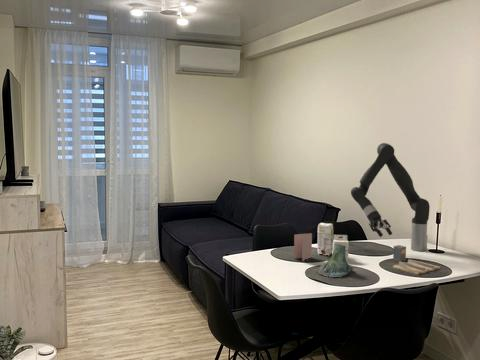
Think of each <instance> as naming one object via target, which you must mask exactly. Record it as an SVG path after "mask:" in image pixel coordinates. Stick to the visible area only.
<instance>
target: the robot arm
mask: <svg viewBox="0 0 480 360" xmlns="http://www.w3.org/2000/svg"><path fill="white" fill-rule="evenodd" d="M376 151H377V154H378V156H377V157H376V159H375V161H374V162H373V163H372V164H371V165H370V167H368V169H366V171H365V172H364V173H363V175H362V177H361V178H360V180H359V183H360V184H359V187H358V186H356V187H352V188H351V190H350V194H351V197H352V198H353V200H354V201H355V202H356V203H357V204H358V205H359V207H360V208H361V210H362V211H363V213H364V215H365V217H366V218H367V220H368V221H369V223H368V225H369V227H370V229H371V230H372V232H375V233H377V235H378V237H379V238H383V237H382V236H383V235H384V234H383V233H382V231H381V230H380V228H381V229H384V230H385V232H386V233H387V234H388V235H389V236H392V235H393V232H392V230H391V229H390V228H391V223H389V222H388V220H387V219H382V215H381V214H380V213H379V211H378V209H377V208H376V207H375V205H373V203H372V202H371V200H370V198H368V197H366V196H367V193H368V191H369V189H370V186H371V184H373V182H374V180H375V179H376V178H377V176H378V174H379V172H380V171H381V170H382V169H383V168H384V166H385V165H386V166H387V170H389V172H390V175H391V176H392V178H393V179H394V181H395V183H396V185H397V186H398V188H399V189H400V190H401V192H402V193H403V196H405V198H406V201H407V202H408V204H409V206H410V208H411V210H412V211H413V212H414V217H412V218H411V232H410V233H411V234H410V235H411V236H410V237H411V238H410V249H411V250H412V251H417V252H418V251H419V252H424V251H427V250H428V221H429V217H430V210H431V209H430V203H429V200H427V199H424V198H422V197H421V196H420V195H419V194H418V192H417V191H416V190H415V187H414V182H413V178H412V177H411V175H410V173H409V172H408V171H407V168H405V167H404V165H402V163H401V162H400V161H399V160H398V159H397V157H396V155H395V147H393V145H391V144H390V143H387V142H382V143H380V144H379V145H378V146H377V148H376Z"/></svg>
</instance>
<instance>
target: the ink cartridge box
mask: <svg viewBox="0 0 480 360" xmlns="http://www.w3.org/2000/svg"><path fill="white" fill-rule="evenodd" d="M335 243H336V244H340V245H343V246H346V247H345V257H346V261H347V262H349V243H350V242H349V240H348V235H347V234H333V250H334V245H335Z"/></svg>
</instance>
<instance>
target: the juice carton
mask: <svg viewBox="0 0 480 360" xmlns="http://www.w3.org/2000/svg"><path fill="white" fill-rule="evenodd" d="M333 240H334V224H333V223H327V222H326V223H325V222H320V223H318V225H317V242H316V243H317V248H316V249H317V255H319V254H323V255H322V256H326V255H328V256H330V255H331V256H332V254H333ZM328 256H327V257H328Z"/></svg>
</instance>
